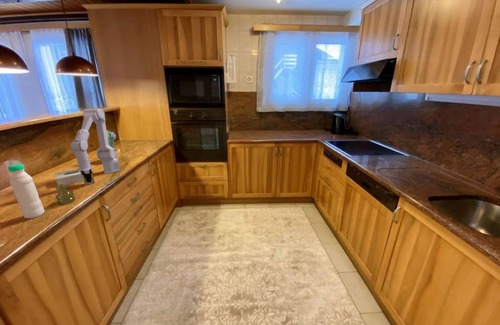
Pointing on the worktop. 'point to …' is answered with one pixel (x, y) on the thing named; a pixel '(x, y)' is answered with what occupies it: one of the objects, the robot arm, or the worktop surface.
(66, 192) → the olive green lumpy piece
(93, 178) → the wooden block
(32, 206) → the white bottle
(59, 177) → the box
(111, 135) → the potted cactus
